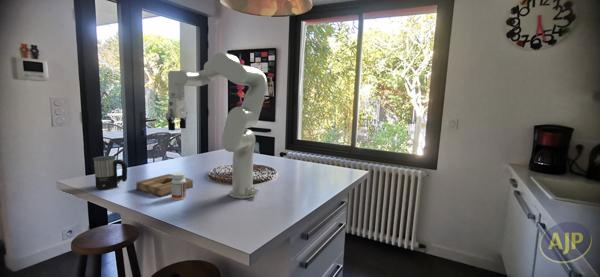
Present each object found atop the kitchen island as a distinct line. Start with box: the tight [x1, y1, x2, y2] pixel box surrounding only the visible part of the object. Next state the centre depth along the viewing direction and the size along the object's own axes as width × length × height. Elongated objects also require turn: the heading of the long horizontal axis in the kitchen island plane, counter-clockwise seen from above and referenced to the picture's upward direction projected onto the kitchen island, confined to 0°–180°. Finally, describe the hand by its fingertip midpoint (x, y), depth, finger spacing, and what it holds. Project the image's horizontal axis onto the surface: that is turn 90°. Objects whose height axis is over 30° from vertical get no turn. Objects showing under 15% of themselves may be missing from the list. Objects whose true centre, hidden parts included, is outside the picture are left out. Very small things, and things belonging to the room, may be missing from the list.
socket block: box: [135, 173, 194, 198], centre depth 144 cm, size 18×18×4 cm
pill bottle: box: [171, 171, 187, 201], centre depth 131 cm, size 6×6×11 cm
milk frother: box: [92, 155, 128, 190], centre depth 146 cm, size 14×16×15 cm
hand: (177, 129), depth 151 cm, fingers open, 9 cm apart
